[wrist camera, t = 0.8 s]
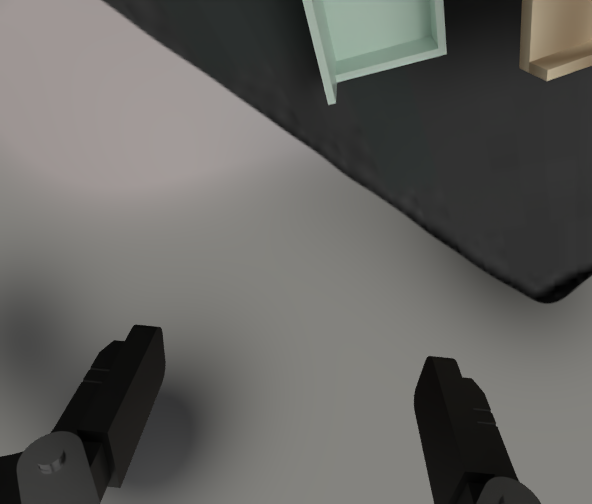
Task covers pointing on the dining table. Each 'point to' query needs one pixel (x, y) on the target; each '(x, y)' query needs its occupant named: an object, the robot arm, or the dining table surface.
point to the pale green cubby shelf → (372, 36)
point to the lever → (555, 37)
